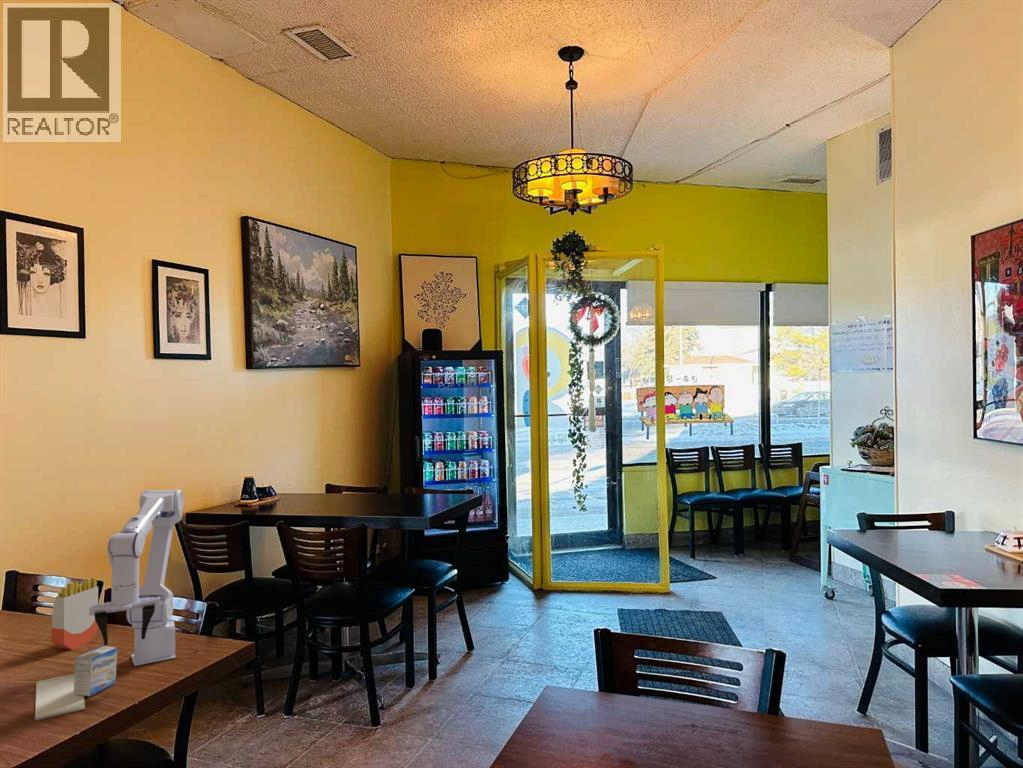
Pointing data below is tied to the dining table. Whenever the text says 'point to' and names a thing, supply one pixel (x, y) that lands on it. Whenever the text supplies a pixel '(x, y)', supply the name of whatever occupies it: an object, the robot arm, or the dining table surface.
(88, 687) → the medicine box
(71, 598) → the french fries container
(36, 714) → the cream flat slab
